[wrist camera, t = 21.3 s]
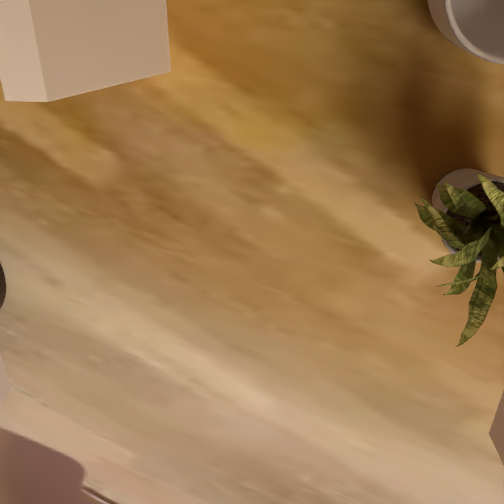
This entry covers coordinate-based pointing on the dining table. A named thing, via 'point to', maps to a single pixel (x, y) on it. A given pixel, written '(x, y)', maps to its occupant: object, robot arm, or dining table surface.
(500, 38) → the teacup
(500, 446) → the robot arm
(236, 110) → the dining table surface
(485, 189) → the house plant
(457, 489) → the dining table surface
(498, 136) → the dining table surface
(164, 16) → the door frame
